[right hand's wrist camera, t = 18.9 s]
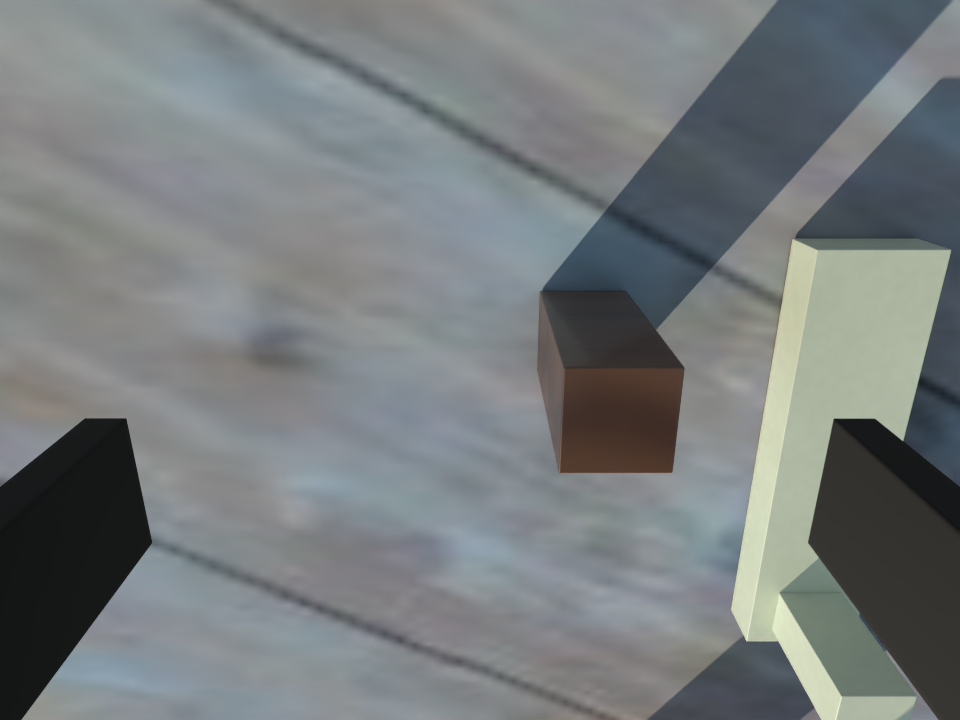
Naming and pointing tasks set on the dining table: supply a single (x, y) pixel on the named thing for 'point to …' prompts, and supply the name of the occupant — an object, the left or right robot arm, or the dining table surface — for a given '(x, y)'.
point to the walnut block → (607, 384)
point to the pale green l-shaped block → (803, 446)
